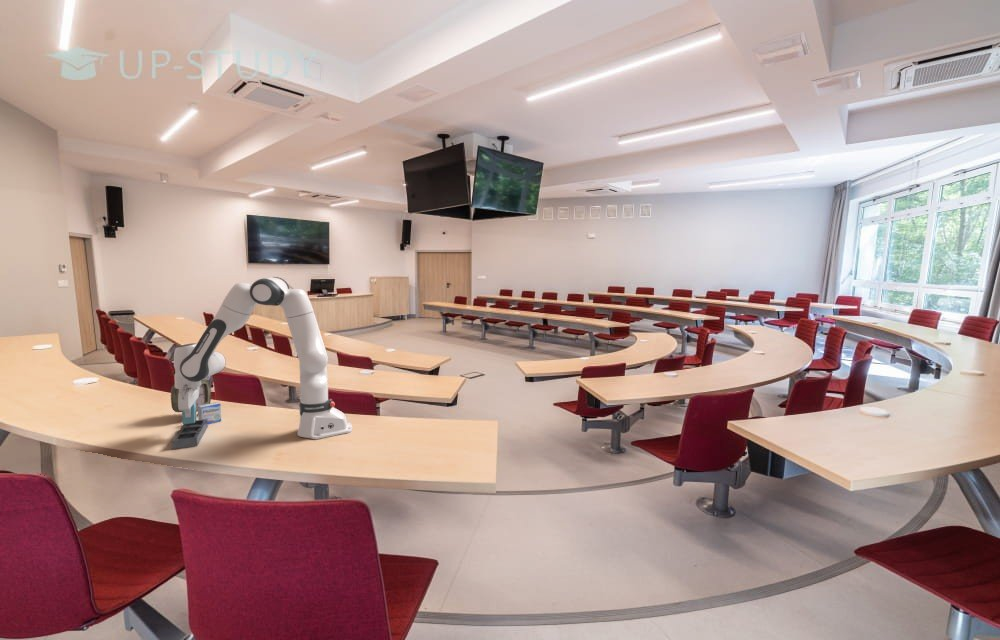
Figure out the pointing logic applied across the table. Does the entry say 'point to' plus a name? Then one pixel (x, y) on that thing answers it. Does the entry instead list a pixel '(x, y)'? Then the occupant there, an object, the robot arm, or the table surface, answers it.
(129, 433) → the table surface
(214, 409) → the medicine box
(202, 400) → the tabletop clock
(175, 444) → the grey rectangular piece
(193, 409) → the clip
